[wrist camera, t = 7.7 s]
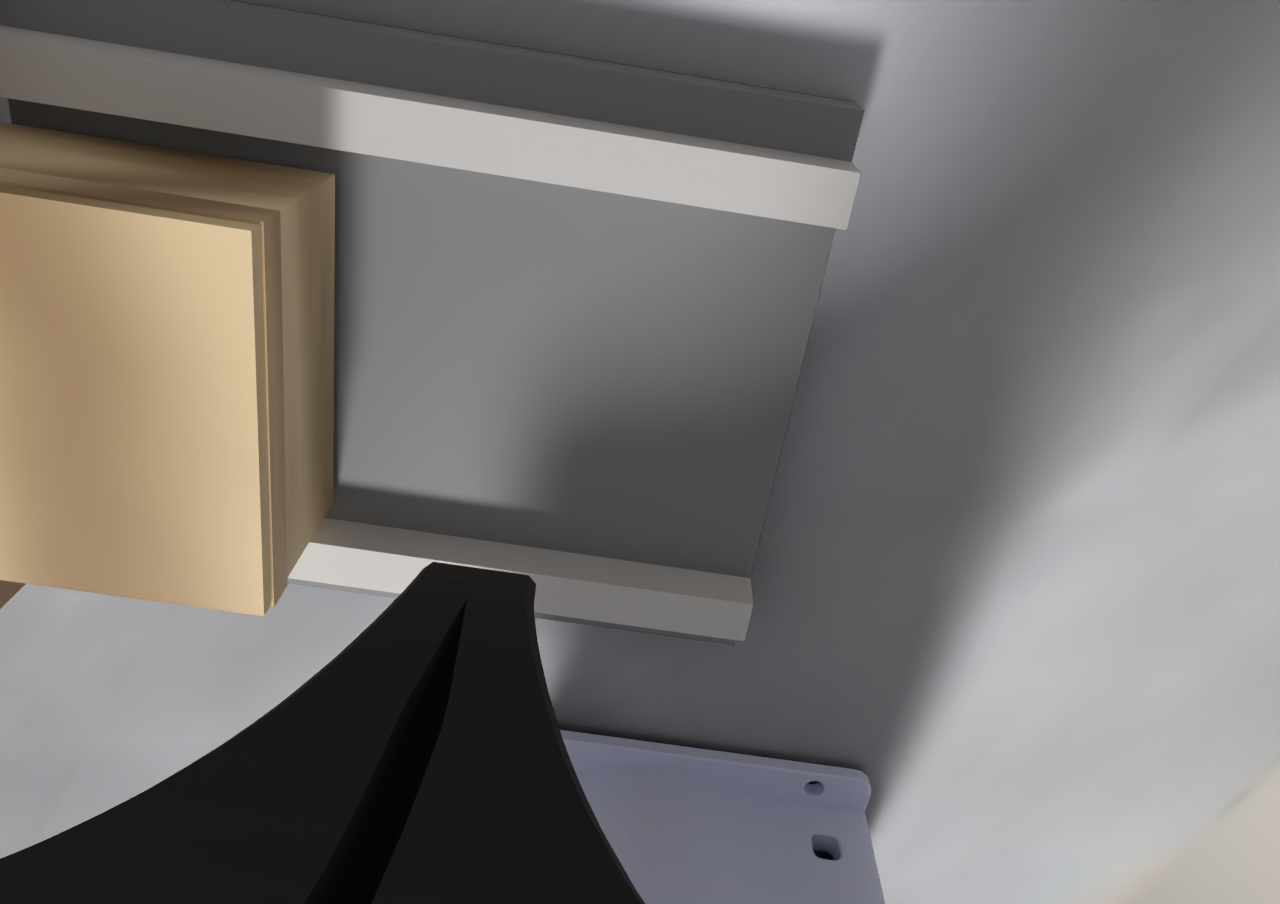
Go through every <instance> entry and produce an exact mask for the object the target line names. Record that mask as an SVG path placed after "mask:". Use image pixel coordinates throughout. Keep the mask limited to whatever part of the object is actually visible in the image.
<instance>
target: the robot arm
mask: <svg viewBox="0 0 1280 904" xmlns="http://www.w3.org/2000/svg"><path fill="white" fill-rule="evenodd" d="M535 592H536V583H535V582H534V581H533V580H532V578H531V577H530V576H529V575H524V574H517V573H510V572H503V571H496V570H489V569H481V568H474V567H467V566H460V565H453V564H446V563H439V562H432V563H431V564H429V565H428V566H426V567H425V568H423V569H422V571H421V572H420V573H419V574H418V575H417V576H416V578H415V579H414V580H413V581H412V582H411V583H410V584H409V585H408V587H407V588H406V589H405V590H404V591H403V592H402V593H401V594H400V595H399V596H398V597H397V598H396V599H395V600H394V602H393V603H392V604H391V605H390V606H389V607H388V608H387V609H386V610H385V611H384V612H383V613H382V614H381V615H380V616H379V617H378V618H377V619H376V620H375V621H374V622H373V623H372V624H371V625H370V626H369V627H368V628H366V629H365V630H364V631H363V632H362V633H361V634H360V635H359V636H358V637H357V638H356V639H355V640H354V641H353V642H352V643H351V644H350V645H348V646H347V647H346V648H345V649H344V650H343V651H342V652H341V653H340V654H339V655H338V656H337V657H335V658H334V659H333V660H332V661H331V662H330V663H328V664H327V665H326V666H325V667H324V668H322V669H321V670H320V671H319V672H318V673H316V674H315V675H314V676H313V677H312V678H311V679H309V680H308V681H307V682H306V683H305V684H303V685H302V686H301V687H300V688H299V689H297V690H296V691H295V692H294V693H293V694H291V695H290V696H289V697H288V698H286V699H285V700H284V701H282V702H281V703H280V704H278V705H277V706H276V707H274V708H273V709H272V710H271V711H269V712H268V713H267V714H265V715H264V716H262V717H261V718H260V719H258V720H257V721H256V722H254V723H253V724H251V725H250V726H248V727H247V728H246V729H244V730H243V731H241V732H240V733H238V734H237V735H235V736H234V737H233V738H231V739H230V740H228V741H227V742H225V743H224V744H222V745H221V746H219V747H218V748H216V749H214V750H213V751H211V752H210V753H208V754H206V755H205V756H203V757H202V758H200V759H198V760H197V761H195V762H194V763H192V764H190V765H189V766H187V767H186V768H184V769H182V770H180V771H179V772H177V773H175V774H174V775H172V776H170V777H169V778H167V779H165V780H163V781H162V782H160V783H158V784H157V785H155V786H153V787H152V788H150V789H148V790H146V791H144V792H142V793H141V794H139V795H137V796H135V797H133V798H131V799H129V800H127V801H125V802H123V803H121V804H119V805H117V806H115V807H113V808H112V809H110V810H108V811H106V812H104V813H102V814H100V815H98V816H96V817H93V818H91V819H89V820H87V821H85V822H83V823H81V824H79V825H77V826H75V827H73V828H70V829H68V830H66V831H64V832H62V833H60V834H58V835H55V836H53V837H51V838H49V839H47V840H44V841H42V842H40V843H38V844H35V845H33V846H31V847H28V848H26V849H24V850H21V851H19V852H16V853H14V854H11V855H9V856H6V857H4V858H1V859H0V904H885V901H884V896H883V892H882V887H881V883H880V878H879V874H878V869H877V865H876V860H875V856H874V851H873V847H872V842H871V838H870V833H869V829H868V824H867V820H866V815H865V809H866V807H867V804H868V801H869V798H870V795H871V786H870V782H869V779H868V777H867V775H866V774H864V773H863V772H862V771H859V770H855V769H849V768H841V767H834V766H826V765H819V764H811V763H804V762H797V761H789V760H782V759H774V758H767V757H759V756H752V755H744V754H737V753H729V752H722V751H714V750H707V749H700V748H692V747H685V746H677V745H670V744H662V743H655V742H647V741H640V740H632V739H625V738H617V737H610V736H602V735H595V734H588V733H580V732H573V731H565V730H560V729H559V726H558V723H557V720H556V717H555V714H554V710H553V707H552V703H551V700H550V696H549V693H548V689H547V684H546V680H545V676H544V672H543V667H542V663H541V659H540V653H539V648H538V642H537V635H536V627H535V616H534V600H535ZM811 781H818V783H816V784H808V783H809V782H811Z"/></svg>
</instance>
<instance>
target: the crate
mask: <svg viewBox="0 0 1280 904" xmlns="http://www.w3.org/2000/svg"><path fill="white" fill-rule="evenodd" d="M334 269H335V174H330V173H323V172H317V171H311V170H304V169H298V168H291V167H285V166H279V165H272V164H266V163H259V162H253V161H247V160H240V159H234V158H227V157H221V156H215V155H208V154H202V153H196V152H189V151H183V150H176V149H170V148H164V147H157V146H151V145H144V144H138V143H132V142H125V141H119V140H112V139H106V138H100V137H93V136H87V135H80V134H74V133H68V132H61V131H55V130H48V129H42V128H36V127H29V126H23V125H16V124H10V123H4V122H0V580H4V581H11V582H18V583H26V584H33V585H40V586H48V587H55V588H62V589H70V590H77V591H84V592H91V593H99V594H106V595H113V596H121V597H128V598H135V599H142V600H150V601H157V602H164V603H172V604H179V605H186V606H194V607H201V608H208V609H215V610H223V611H230V612H237V613H245V614H252V615H259V616H264V615H265V614H266V612H267V611H268V609H269V607H274V606H275V605H276V603H277V601H278V600H279V598H280V596H281V595H282V593H283V591H284V590H285V588H286V586H287V578H288V576H289V575H290V573H291V571H292V570H293V568H294V566H295V565H296V563H297V561H298V560H299V558H300V556H301V555H302V553H303V552H304V550H305V548H306V547H307V545H308V543H309V542H310V540H311V538H312V537H313V535H314V534H315V532H316V530H317V529H318V527H319V525H320V524H321V522H322V520H323V519H324V517H325V515H326V514H327V512H328V511H329V509H330V507H331V506H332V504H333V429H334Z"/></svg>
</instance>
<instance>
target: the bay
mask: <svg viewBox="0 0 1280 904" xmlns="http://www.w3.org/2000/svg"><path fill="white" fill-rule="evenodd" d="M863 112H864V110H863V109H862V108H861V107H860V106H858V105H857V104H856V103H855V102H850V101H844V100H838V99H831V98H825V97H819V96H813V95H807V94H801V93H795V92H788V91H782V90H776V89H770V88H764V87H758V86H752V85H745V84H739V83H733V82H727V81H721V80H715V79H709V78H703V77H696V76H690V75H684V74H678V73H672V72H666V71H660V70H653V69H647V68H641V67H635V66H629V65H623V64H617V63H610V62H604V61H598V60H592V59H586V58H580V57H574V56H568V55H561V54H555V53H549V52H543V51H537V50H531V49H525V48H518V47H512V46H506V45H500V44H494V43H488V42H482V41H475V40H469V39H463V38H457V37H451V36H445V35H439V34H433V33H426V32H420V31H414V30H408V29H402V28H396V27H390V26H383V25H377V24H371V23H365V22H359V21H353V20H347V19H340V18H334V17H328V16H322V15H316V14H310V13H304V12H298V11H291V10H285V9H279V8H273V7H267V6H261V5H255V4H248V3H242V2H236V1H230V0H0V122H4V123H10V124H16V125H23V126H29V127H36V128H42V129H48V130H55V131H61V132H68V133H74V134H80V135H87V136H93V137H100V138H106V139H112V140H119V141H125V142H132V143H138V144H144V145H151V146H157V147H164V148H170V149H176V150H183V151H189V152H196V153H202V154H208V155H215V156H221V157H227V158H234V159H240V160H247V161H253V162H259V163H266V164H272V165H279V166H285V167H291V168H298V169H304V170H311V171H317V172H323V173H330V174H335V269H334V429H333V504H332V506H331V507H330V509H329V511H328V512H327V514H326V515H325V517H324V519H323V520H322V522H321V524H320V525H319V527H318V529H317V530H316V532H315V534H314V535H313V537H312V538H311V540H310V542H309V543H308V545H307V547H306V548H305V550H304V552H303V553H302V555H301V556H300V558H299V560H298V561H297V563H296V565H295V566H294V568H293V570H292V571H291V573H290V575H289V576H288V578H287V583H290V584H297V585H305V586H312V587H319V588H326V589H333V590H341V591H348V592H355V593H362V594H369V595H377V596H384V597H391V598H397V597H398V596H399V595H400V594H401V593H402V592H403V591H404V590H405V589H406V588H407V587H408V585H409V584H410V583H411V582H412V581H413V580H414V579H415V578H416V576H417V575H418V574H419V573H420V572H421V571H422V569H423V568H425V567H426V566H428V565H429V564H431V563H432V562H439V563H446V564H453V565H460V566H467V567H474V568H481V569H489V570H496V571H503V572H510V573H517V574H524V575H529V576H530V577H531V578H532V580H533V581H534V582H535V583H536V592H535V600H534V616H535V618H543V619H550V620H557V621H564V622H571V623H579V624H586V625H593V626H600V627H607V628H615V629H622V630H629V631H636V632H644V633H651V634H658V635H665V636H672V637H680V638H687V639H694V640H701V641H708V642H716V643H723V644H730V645H734V643H735V640H737V641H744V642H745V638H746V634H747V630H748V626H749V621H750V617H751V613H752V609H753V605H754V603H753V595H752V587H751V579H750V578H751V573H752V569H753V565H754V561H755V557H756V553H757V549H758V545H759V541H760V536H761V532H762V528H763V524H764V520H765V516H766V512H767V508H768V504H769V499H770V495H771V491H772V487H773V483H774V479H775V475H776V471H777V466H778V462H779V458H780V454H781V450H782V446H783V442H784V438H785V434H786V429H787V425H788V421H789V417H790V413H791V409H792V405H793V401H794V396H795V392H796V388H797V384H798V380H799V376H800V372H801V368H802V364H803V359H804V355H805V351H806V347H807V343H808V339H809V335H810V331H811V327H812V322H813V318H814V314H815V310H816V306H817V302H818V298H819V294H820V289H821V285H822V281H823V277H824V273H825V269H826V265H827V261H828V257H829V252H830V248H831V244H832V240H833V236H834V232H835V228H837V229H843V230H847V227H848V223H849V219H850V215H851V211H852V207H853V203H854V199H855V195H856V191H857V187H858V183H859V179H860V175H861V173H860V171H859V170H858V169H857V168H856V167H855V165H854V164H853V163H852V158H853V154H854V149H855V145H856V141H857V137H858V133H859V129H860V125H861V121H862V117H863ZM25 584H26V583H18V582H11V581H4V580H0V609H1V608H2V607H3V606H4V605H5V604H6V603H7V602H8V601H9V600H10V599H11V598H12V597H13V596H14V595H15V594H16V593H17V592H18V591H19V590H20V589H21V588H22V587H23V586H24V585H25Z"/></svg>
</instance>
